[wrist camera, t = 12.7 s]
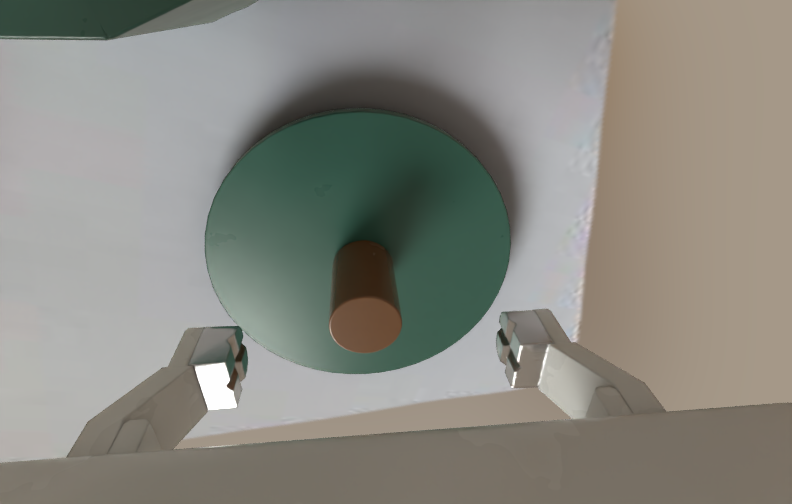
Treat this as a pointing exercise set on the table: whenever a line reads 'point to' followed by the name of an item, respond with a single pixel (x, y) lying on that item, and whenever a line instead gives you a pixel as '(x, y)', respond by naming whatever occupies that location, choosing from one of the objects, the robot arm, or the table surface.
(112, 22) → the pot
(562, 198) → the table surface
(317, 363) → the lid
